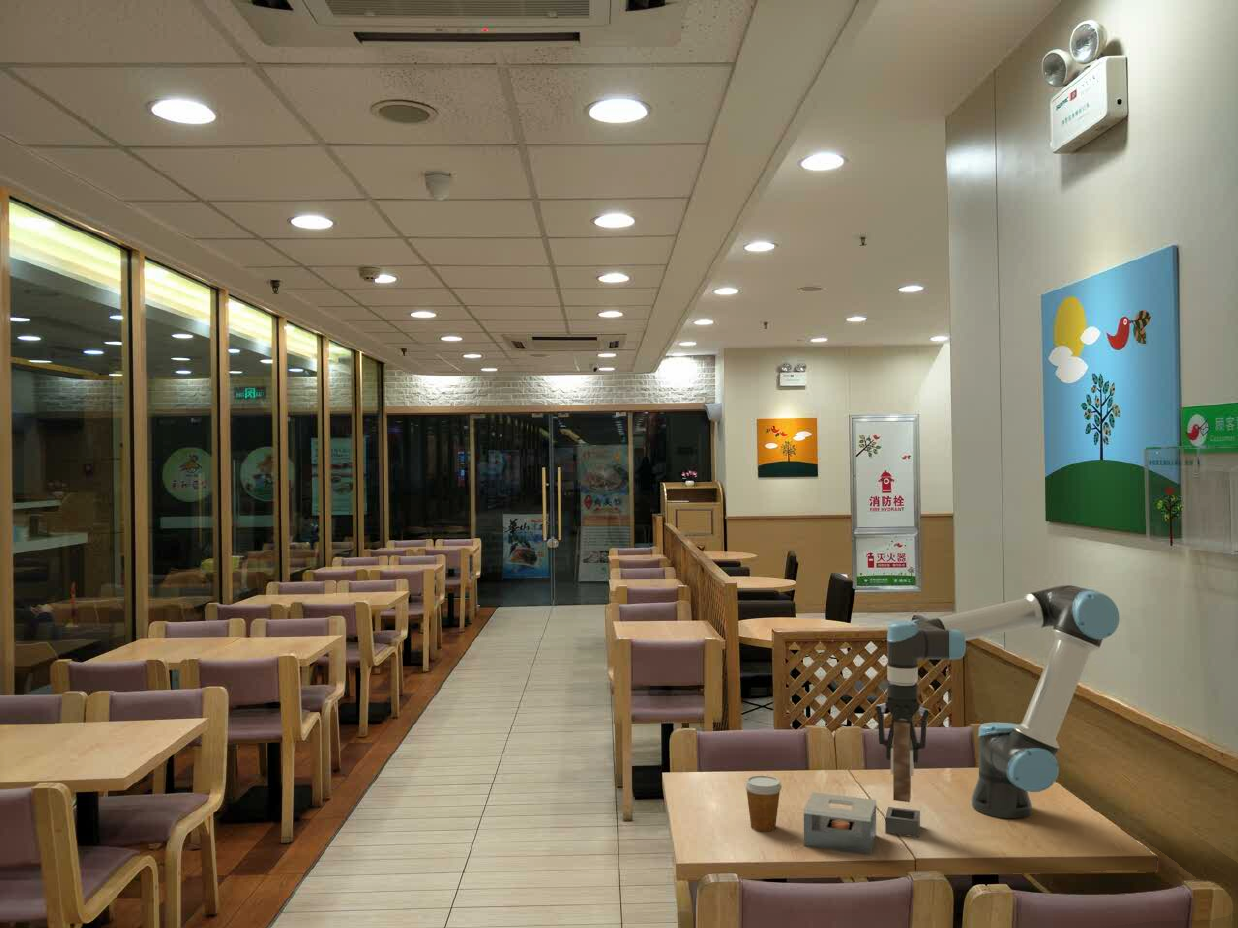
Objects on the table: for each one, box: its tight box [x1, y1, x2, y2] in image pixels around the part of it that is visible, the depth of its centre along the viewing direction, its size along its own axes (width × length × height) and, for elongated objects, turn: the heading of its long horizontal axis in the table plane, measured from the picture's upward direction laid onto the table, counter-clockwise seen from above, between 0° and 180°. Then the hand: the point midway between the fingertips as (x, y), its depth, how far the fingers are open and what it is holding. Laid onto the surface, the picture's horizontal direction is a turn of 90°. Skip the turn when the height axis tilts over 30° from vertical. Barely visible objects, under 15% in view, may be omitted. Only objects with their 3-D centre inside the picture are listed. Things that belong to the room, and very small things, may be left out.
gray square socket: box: [884, 806, 921, 838], centre depth 244 cm, size 8×8×4 cm
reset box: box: [803, 791, 877, 856], centre depth 237 cm, size 16×13×9 cm
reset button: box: [831, 820, 850, 830], centre depth 237 cm, size 4×4×4 cm
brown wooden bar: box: [892, 719, 912, 803], centre depth 244 cm, size 4×4×20 cm
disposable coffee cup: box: [744, 775, 782, 832], centre depth 246 cm, size 10×10×12 cm
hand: (902, 772), depth 244 cm, fingers closed on brown wooden bar, 4 cm apart
